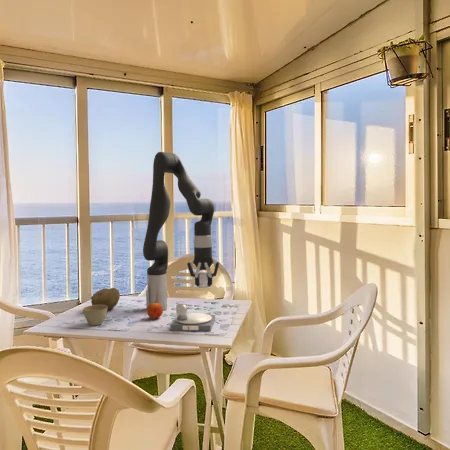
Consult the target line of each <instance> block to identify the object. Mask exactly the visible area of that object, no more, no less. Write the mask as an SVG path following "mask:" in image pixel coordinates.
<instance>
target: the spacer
mask: <svg viewBox="0 0 450 450" xmlns="http://www.w3.org/2000/svg"><path fill="white" fill-rule="evenodd" d="M208 278H209V275H208V273H207V271H200V272H199V274H198V288H200V289H206V288H210V287H209V279H208Z"/></svg>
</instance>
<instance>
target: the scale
mask: <svg viewBox="0 0 450 450" xmlns="http://www.w3.org/2000/svg"><path fill="white" fill-rule="evenodd" d="M187 318H188V319H187V320H185V321H178V320H177V316H176V317H175V319H174V320H173V322H172V323H171V324H170V331H174V332H175V331H177V332H178V331H181V332H182V331H184V332H185V331H187V332H192V331H193V332H195V331H196V332H211V331H212V329H213V326H214V323H215V321H216V314H207V313H201V312H200V313H198V312H195V313H193V312H192V313H187Z"/></svg>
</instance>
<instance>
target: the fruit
mask: <svg viewBox="0 0 450 450" xmlns="http://www.w3.org/2000/svg"><path fill="white" fill-rule="evenodd" d="M155 302H156V301H155ZM163 313H164V311H163V308H162V306H161V305H160V304H159V303H151V304H150V305H149V306H148V308H146V314H147V316H148V317H149V318H150V319H152V320H158V319H159V318H160V317H161V316H162V315H163Z"/></svg>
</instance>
